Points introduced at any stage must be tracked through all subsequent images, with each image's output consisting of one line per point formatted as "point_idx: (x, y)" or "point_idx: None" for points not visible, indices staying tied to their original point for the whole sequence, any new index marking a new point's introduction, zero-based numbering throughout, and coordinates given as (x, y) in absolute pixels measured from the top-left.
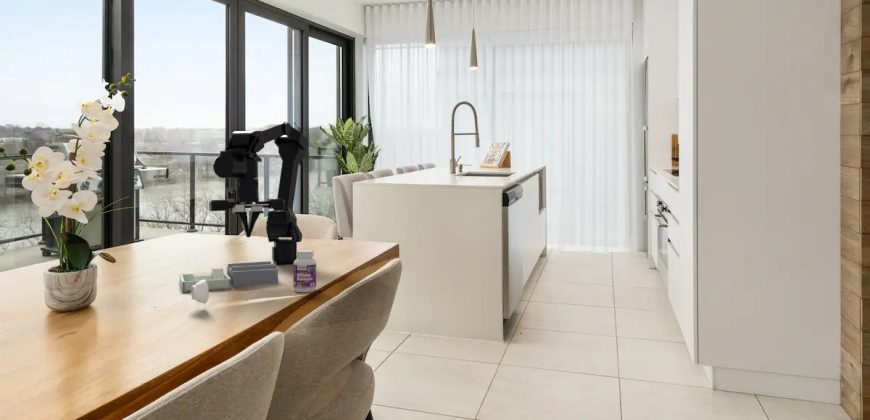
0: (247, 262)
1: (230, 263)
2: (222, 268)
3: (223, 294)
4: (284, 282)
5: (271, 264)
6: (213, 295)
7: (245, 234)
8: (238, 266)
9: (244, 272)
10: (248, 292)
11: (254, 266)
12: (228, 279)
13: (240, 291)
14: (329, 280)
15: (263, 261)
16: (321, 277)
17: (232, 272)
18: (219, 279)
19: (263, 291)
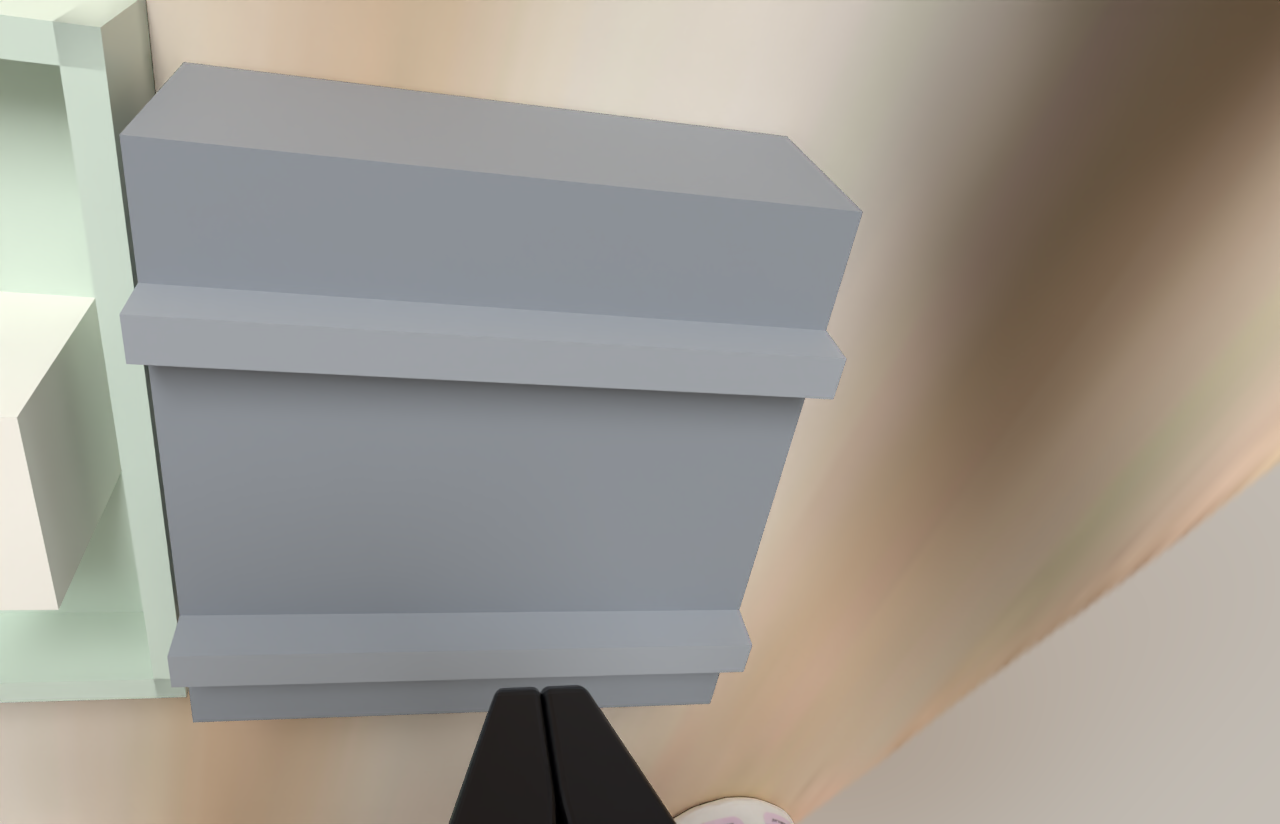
0: (479, 345)
1: (171, 331)
2: (42, 590)
3: (125, 794)
4: (778, 495)
5: (691, 668)
6: (36, 805)
7: (476, 745)
8: (270, 680)
9: (338, 704)
10: (339, 783)
11: (481, 667)
12: (156, 691)
13: (281, 734)
14: (1116, 564)
15: (739, 354)
16: (1205, 387)
17: (193, 696)
18: (47, 698)
19: (458, 783)
